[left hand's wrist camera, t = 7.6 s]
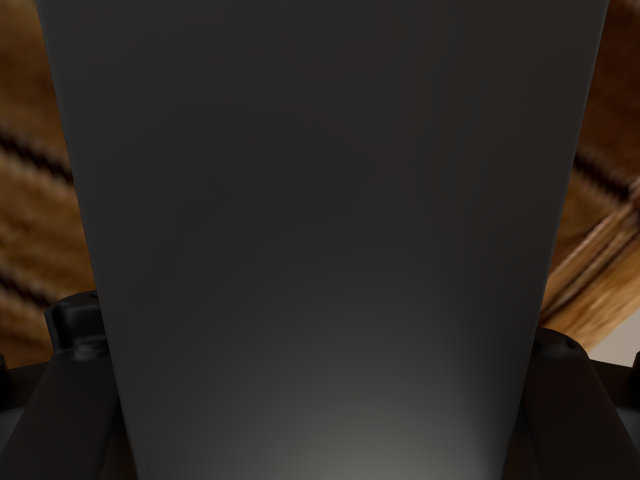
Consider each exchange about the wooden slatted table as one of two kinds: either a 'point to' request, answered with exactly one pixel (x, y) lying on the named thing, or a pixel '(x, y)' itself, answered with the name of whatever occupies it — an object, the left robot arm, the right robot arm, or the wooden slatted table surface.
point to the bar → (321, 222)
